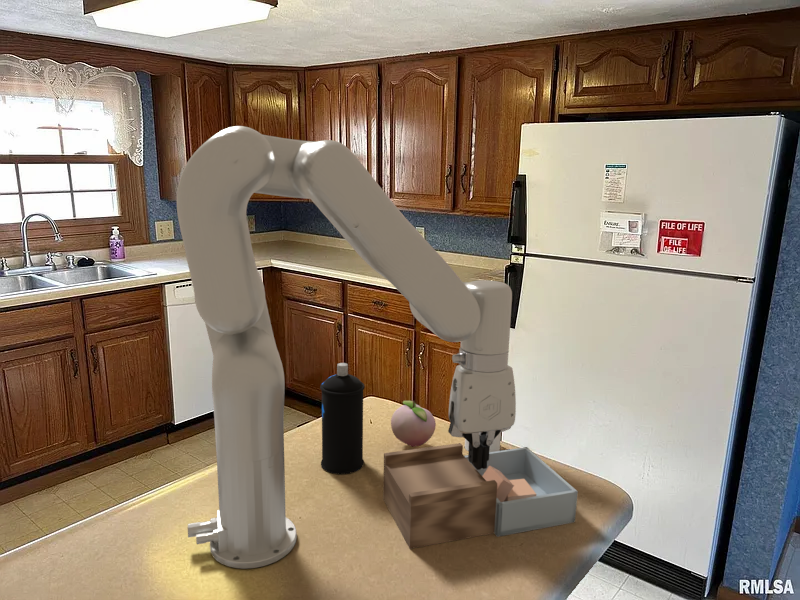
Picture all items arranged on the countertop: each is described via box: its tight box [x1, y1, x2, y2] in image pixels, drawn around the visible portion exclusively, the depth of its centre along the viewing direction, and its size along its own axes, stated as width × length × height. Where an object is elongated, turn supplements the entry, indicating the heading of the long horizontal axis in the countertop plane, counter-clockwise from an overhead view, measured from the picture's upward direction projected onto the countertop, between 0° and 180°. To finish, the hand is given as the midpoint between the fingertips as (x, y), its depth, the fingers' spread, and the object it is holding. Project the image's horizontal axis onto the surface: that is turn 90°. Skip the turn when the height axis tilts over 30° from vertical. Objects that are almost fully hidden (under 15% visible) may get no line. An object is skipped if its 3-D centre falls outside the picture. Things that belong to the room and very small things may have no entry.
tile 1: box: [482, 465, 514, 502], centre depth 98 cm, size 5×5×2 cm
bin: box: [464, 446, 579, 538], centre depth 100 cm, size 14×16×6 cm
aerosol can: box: [319, 362, 366, 475], centre depth 110 cm, size 8×8×20 cm
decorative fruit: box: [390, 400, 437, 448], centre depth 119 cm, size 9×8×10 cm
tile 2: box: [504, 479, 536, 502], centre depth 99 cm, size 5×5×2 cm
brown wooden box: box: [382, 442, 497, 550], centre depth 95 cm, size 14×14×9 cm
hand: (478, 465), depth 97 cm, fingers closed
